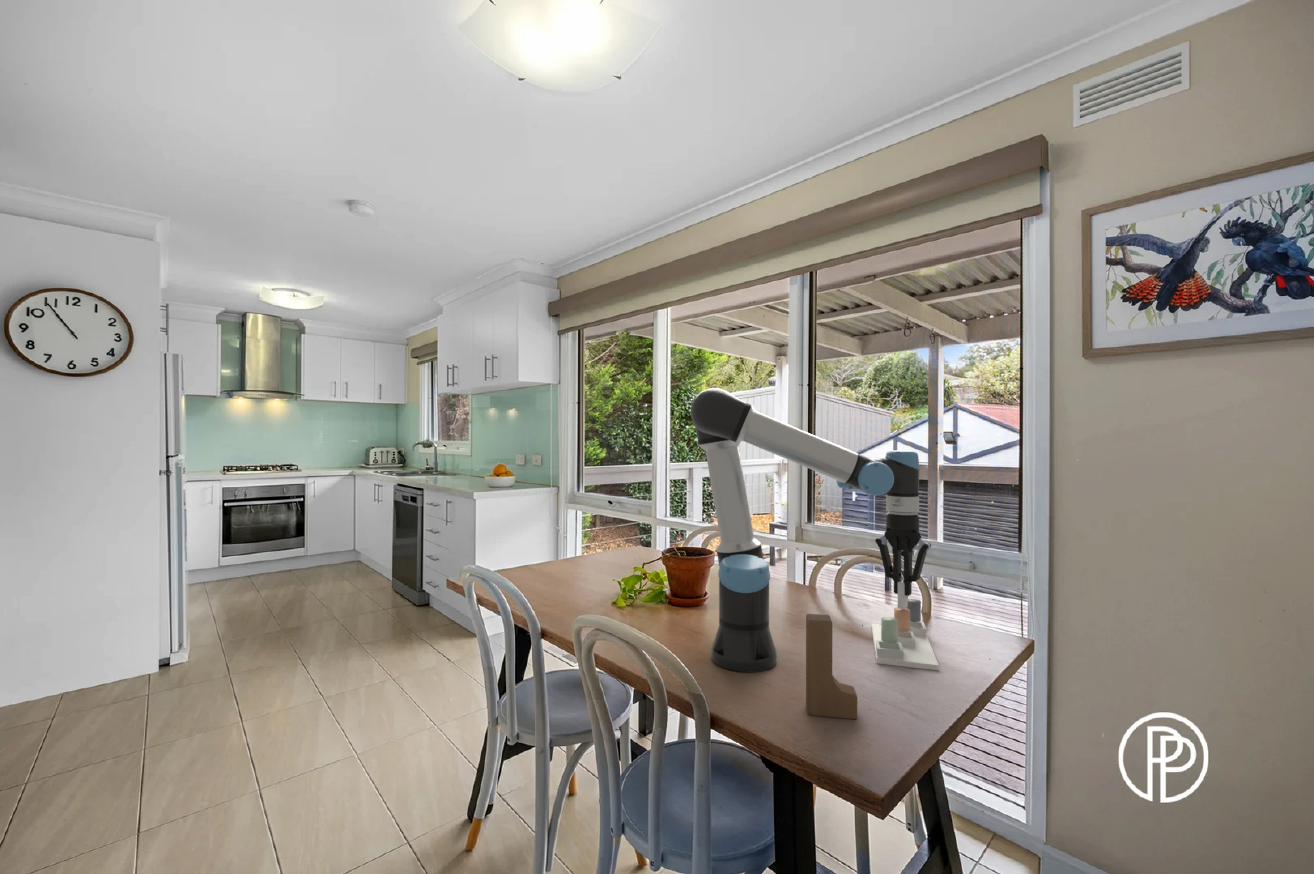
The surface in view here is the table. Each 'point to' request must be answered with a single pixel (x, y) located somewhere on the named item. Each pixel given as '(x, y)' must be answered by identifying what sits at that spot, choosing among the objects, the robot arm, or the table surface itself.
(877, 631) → the button board
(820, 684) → the wooden block
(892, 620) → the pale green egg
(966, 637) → the table surface
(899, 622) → the terracotta plunger
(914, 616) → the charcoal plunger
